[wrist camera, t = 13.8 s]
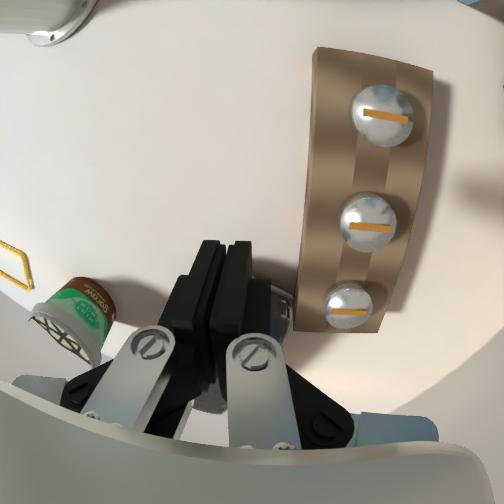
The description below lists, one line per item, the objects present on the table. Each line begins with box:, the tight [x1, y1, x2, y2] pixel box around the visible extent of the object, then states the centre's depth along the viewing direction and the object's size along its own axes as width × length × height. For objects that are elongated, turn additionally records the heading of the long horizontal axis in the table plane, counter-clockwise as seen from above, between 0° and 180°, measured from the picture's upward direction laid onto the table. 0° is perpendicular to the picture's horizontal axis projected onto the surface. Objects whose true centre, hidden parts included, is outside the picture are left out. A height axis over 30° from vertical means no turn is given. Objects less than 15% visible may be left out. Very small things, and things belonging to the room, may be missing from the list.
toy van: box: [193, 276, 294, 415], centre depth 34 cm, size 11×25×10 cm, turn 155°
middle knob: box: [338, 191, 397, 252], centre depth 24 cm, size 5×5×6 cm
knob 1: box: [324, 280, 373, 329], centre depth 29 cm, size 5×5×6 cm
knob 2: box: [349, 85, 414, 147], centre depth 20 cm, size 5×5×6 cm
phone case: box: [0, 241, 32, 291], centre depth 37 cm, size 8×17×1 cm, turn 74°
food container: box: [28, 277, 116, 370], centre depth 33 cm, size 12×6×10 cm, turn 49°
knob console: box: [293, 47, 433, 333], centre depth 25 cm, size 28×10×4 cm, turn 179°
